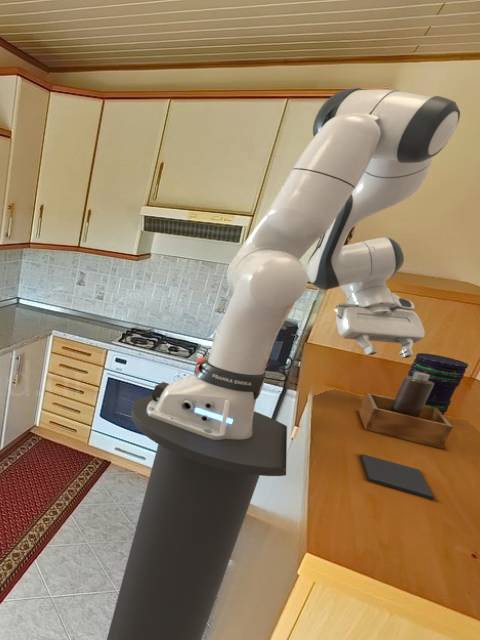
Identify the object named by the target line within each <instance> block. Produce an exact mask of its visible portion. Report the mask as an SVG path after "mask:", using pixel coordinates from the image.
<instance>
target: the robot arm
mask: <svg viewBox="0 0 480 640" xmlns="http://www.w3.org/2000/svg"><path fill="white" fill-rule="evenodd" d="M460 117H461V111H460V109H459V106H458V104H457V103H456V101H454V100H452V99H449V98H448V97H447V98H446V97H444V96H440V95H434V96H428V95H424V94H419V93H414V92H407V91H400V90H398V89H389V88H387V89H386V88H384V89H383V88H375V89H374V88H372V89H370V88H369V89H363V88H360V87H356V88H347V89H342V90H338V91H337V92H336V93H335V94H333V95H331V96H330V97H329V98H328V99H327V100H326V101H325V102H324V103H323V104H322V106H321V107H320V108H319V110H318V112H317V114H316V116H315V119H314V122H313V124H312V125H313V126H312V136H313V138H311V140H310V141H309V142H308V144H307V145H306V147H305V148H304V150H303V151H302V152H301V154H300V156H299V157H298V158H297V159H296V162H295V163H294V166H293V167H292V168H291V170H290V172H289V173H288V175H287V177H286V179H285V180H284V182H283V184H282V185H281V188H279V191H278V193H277V194H276V196H275V198H274V199H273V201H272V202H271V205H270V206H269V208H268V209H267V211H266V212H265V214H264V215H263V217H262V218H261V219H260V221H259V222H258V223H257V225H256V226H255V227H254V229H253V230H252V231H251V233H250V234H249V236H248V237H247V238H246V240H245V241H244V242H243V244H242V246H241V247H240V249H239V250H238V252H237V253H236V254H235V256H234V257H233V258H232V260H231V261H230V263H229V264H228V267H227V270H226V283H227V285H228V287H229V289H230V290H231V292H232V295H231V296H232V297H231V299H230V301H229V304H228V306H227V308H226V310H225V312H224V315H223V317H222V320H221V321H220V323H219V324H218V325H217V328H216V331H215V334H214V338H213V341H212V345H211V348H210V352H209V355H208V359H207V358H205V357H203V356H200V357H199V358H197V360H196V361H195V368H194V372H193V374H191V375H188V376H185V377H183V378H180V379H177V380H175V381H172V382H170V383H167V382H165V381H162V382H160V383H158V384H156V385H155V386H154V389H153V390H152V392H151V395H152V398H153V400H152V401H151V402H150V403H149V404H148V406H147V409H146V411H147V414H148V415H149V416H150V417H153V418H155V419H158V420H161V421H163V422H166V423H169V424H171V425H174V426H177V427H180V428H182V429H185V430H188V431H190V432H193V433H196V434H199V435H201V436H204V437H207V438H210V439H213V440H222V439H236V440H240V439H248V438H250V437H251V436H252V435H253V431H252V425H253V414H254V411H255V408H256V402H257V399H258V398H259V397H260V395H261V393H262V390H263V387H264V384H265V381H266V379H265V378H266V373H265V372H266V368H267V364H268V361H269V359H270V356H271V353H272V350H273V347H274V344H275V342H276V339H277V336H278V334H279V332H280V330H281V328H282V327H283V326H284V324H285V322H286V320H287V318H288V316H289V314H290V313H291V311H292V309H293V307H294V305H295V303H296V302H297V301H299V299H300V298H301V297H302V296H303V295H304V293H305V292H306V289H307V287H308V282H309V284H311V285H312V286H314V287H316V288H318V289H320V290H324V291H327V290H332V289H335V288H339V287H340V288H341V290H342V292H343V293H344V294H345V302H346V303H343V302H342V303H339V304H337V305H336V306H335V308H334V312H335V315H336V316H335V321H336V328H337V332H338V335H339V336H340V337H341V338H342V339H345V340H346V339H347V340H355V342H356V344H357V345H359V346H360V347H361V349H363V351H364V354H365V355H368V356H374V355H375V354H377V353H378V349H377V347H376V345H373V344H372V343H371V342H382V343H393V344H399V347H402V348H401V350H399V351H398V353H399V355H400V357H401V358H403V359H404V358H405V359H410V358H411V357H413V355H414V352H413V350H412V349H413V345H414V344H415V343H417V342H419V341H421V340H423V339H424V338H425V337H426V331H425V328H424V326H423V323H422V320H421V318H420V317H419V315H418V314H417V313H416V312H415V311H414V309H415V308H416V307H415V303H414V302H412V301H411V300H409V299H406V298H403V297H400V296H399V295H397V294H395V293H394V292H391V290H390V288H389V287H388V286H387V281H388V280H390V279H392V278H393V276H395V275H396V274H397V272H398V271H399V270H400V269H401V268H402V266H403V265H404V262H405V258H404V253H403V250H402V248H401V245H400V244H399V243H398V242H397V241H395V239H392V238H390V237H388V236H385V237H377V238H373V239H368V240H363V241H360V242H355V243H349V244H345V242H346V240H347V238H348V236H349V234H350V232H351V230H352V229H353V228H354V227H355V226H356V225H357V224H359V223H360V222H361V221H363V220H365V219H367V218H368V217H370V216H372V215H376V214H377V213H380V212H381V211H383V210H387V209H389V208H391V207H394V206H395V205H398V204H400V203H401V202H404V201H405V200H407V199H409V198H410V197H411V196H413V195H415V193H416V192H417V191H418V190H419V189H420V187H421V186H422V185H423V183H424V182H425V180H426V178H427V176H428V173H429V170H430V167H431V164H432V160H433V157H435V156H437V155H438V154H439V153H440V152H441V151H442V150H443V149H444V148H445V146H446V145H447V144H448V142H450V140H451V139H452V137H453V136H454V134H455V131H456V129H457V127H458V124H459V121H460ZM317 241H318V242H317ZM316 242H317V244H316V247H315V249H314V251H313V252H312V254H311V256H310V257H309V259H308V262H307V266H306V268H305V267H304V265H303V263H302V262H301V258H302V257H303V256H304V255H305V254H306V252H308V251H309V249H310V248H311V247H312V246H313V245H314V244H315V243H316ZM156 397H158V398H156Z"/></svg>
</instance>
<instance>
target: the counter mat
mask: <svg viewBox="0 0 480 640" xmlns="http://www.w3.org/2000/svg"><path fill="white" fill-rule="evenodd" d="M360 459H361V462H362V465H363V468H364V472H365V475H366V478H367V481H368V482H372V483H375V484H377V485H381V486H384V487H388V488H391V489H395V490H398V491H402V492H405V493H409V494H411V495H415V496H419V497H422V498H425V499H429V500H433V499H434V498H435V496H434V494H433V492H432V491H431V489H430V487H429V485H428V484H427V482H426V480H425V478H424V476H423V474H422V473H421V471H420V469H419V468H415V467H411V466H407V465H405V464H401V463H396V462H393V461H389V460H386V459H382V458H380V457H379V458H378V457H374V456H371V455H367V454H364V453H361V454H360Z"/></svg>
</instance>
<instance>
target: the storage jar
mask: <svg viewBox="0 0 480 640" xmlns="http://www.w3.org/2000/svg"><path fill="white" fill-rule="evenodd" d="M468 367H469V363H467V362H465V361H462V360H459V359H456V358H451V357H448V356H442V355H438V354H433V353H424V352H418V353H416V355H415V359H413V361H412V363H411V365H410V369H409V370H408V372H407V376H412V377H413V375H414V372H421V373H425V374H428V375H430V376H429V378H428V380H429V381H431V382H433V383H434V386H433V388H432V390H431V392H430V394H429V397H428V399H427V401H426V403H425V405H424V406H429V407H433V408H437V409H438V410H439V411H440V412H441V413H442V415H443V416H444V417H445V413H447V411H448V409H449V407H450V406H451V402H452V401H451V399H452V397H453V395H454V393H455V391H456V389H457V388H458V387H459V386H460V385H461V382H462V380H463V378H464V377H465V373H466V371H467V370H466V369H468Z"/></svg>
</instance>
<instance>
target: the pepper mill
mask: <svg viewBox="0 0 480 640" xmlns="http://www.w3.org/2000/svg"><path fill="white" fill-rule="evenodd" d="M429 376H430V375H428V374H425V373H421V372H414V375H413V377H412V376H409V375H405V376H404V377H403V379H402V381H401V383H400V386H399V388H398V391H397V393H396V395H395V397H394V398H393V399H394V402H393V404H392V406H391V409H390V411H391V412H395V413H400V414H404V415H408V416H412V417H417V418H419V416H420V414H421V412H422V409H423V407H424V405H425V403H426V401H427V399H428V397H429V394H430V392H431V390H432V388H433V386H434V383H433V382H431V381H429V380H428V378H429Z"/></svg>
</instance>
